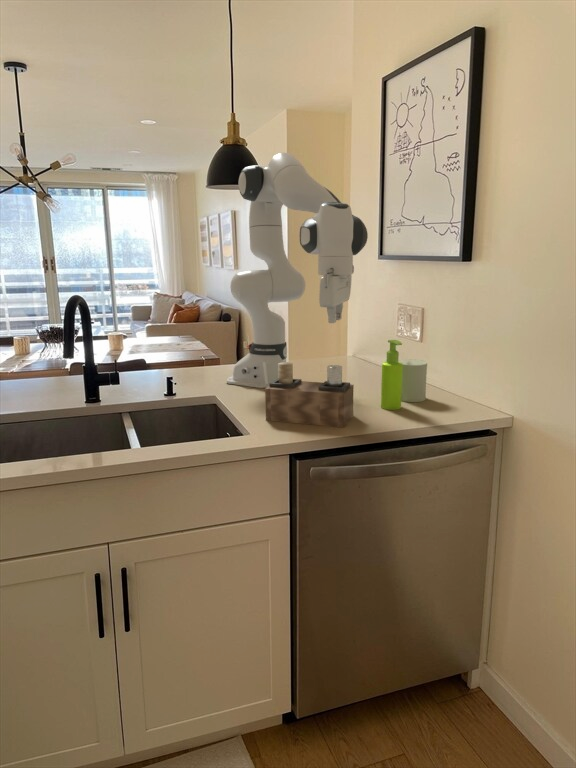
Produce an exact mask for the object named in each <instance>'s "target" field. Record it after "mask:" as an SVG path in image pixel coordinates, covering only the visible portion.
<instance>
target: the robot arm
mask: <svg viewBox="0 0 576 768" xmlns="http://www.w3.org/2000/svg"><path fill="white" fill-rule="evenodd" d="M238 189H239V190H238V191H239V193H240V195H241V197H242V198H243V200H245V201H249V202H250V204H249V215H248V216H249V217H248V227H249V228H248V229H249V231H248V232H249V247H250V252H251V253H252V254H253V255H254V256H255V257H256V258H257V259H260V260H262V261H264V263H266V265H267V268H268V269H249V270H243V271H239V272H236V273H235V274H233V277H232V278H231V281H230V292H231V295H232V297H233V298H234V299H235V300H236V301H237V302H238V303H240V305H242V306H243V307H244V308H245V309H246V311H247V312H248V314H249V317H250V319H251V325H252V334H253V336H252V337H253V341H252V342H251V343H249V344H248V345H247V346H246V347H247V348H246V349H247V350H248V353H247V354H245V356H244V357H242V358H241V359H239V360H238V361H237V362H236V363H235V364H234V367H233V372H232V375H230V376H229V377H227V379H226V383H227V384H230V385H238V386H245V387H251V388H258V389H259V388H260V389H263V388H267V387H268V386H269V383H271V382H272V381H274V380H276V379H277V378H278V363H283V362H287V357H288V347H287V342H286V322H285V320H284V318H283V316H281V315H279V314H278V313H276V312H274V311H271V310H270V308H269V303H281V302H291V301H295V300H299V299H301V298H302V296H303V295H304V293H305V291H306V281H305V277H304V275H303V274H302V273H301V272H300V271H299V270H298V269H296V268H295V267H294V266H293V265H292V264H291V262H290V260H289V259H288V256H287V254H286V252H285V247H284V239H283V238H284V237H283V220H282V207H283V205H284V206H285V207H286V208H288V209H290V210H293V211H300V212H307V213H314V214H315V215H313V216H312V217H311V218H307V219H306V220H305V221H304V222H303V223H302V225H301V226H300V228H299V243H300V246H301V247H302V249H303V251H304V252H306V253H308V254H312V255H318V257H317V258H318V259H317V260H318V262H317V264H318V270H317V272H318V273H317V274H318V275H319V276H321V277H320V279H319V280H320V281H319V294H318V295H319V296H318V297H319V299H318V301H319V307H321V308H326V313H327V318H328V319H327V321H328V324H336V322H337V321H341V320H342V316H343V315H342V313H343V308H344V303H345V302H348V301H350V297H351V290H352V277H353V276H352V275H353V274H354V271H355V266H354V262H353V261H354V260H353V259H354V256H356V255H358V254H359V253H360V252H361V251H362V250H363V249H364V248H365V246H366V244H367V241H368V238H369V237H368V236H369V235H368V234H369V233H368V229H367V226H366V225H365V223H364V222H363V220H362V219H361V218H360V217H358V216H355V215H353V212H352V208H351V206H350V205H349V204H347V203H344V202H341V201H340V199H339V198H338V197H337V196H336V195H335V194H334V193H333V192H332V191H331V190H329V189H328V188H326V187H325V186H324V185H322V184H320V183H319V182H317V181H316V180H315V178H313V177H312V176H311V175H310V174H309V173H308V171H307V170H306V168H305V167H304V166H303V164H302V163H301V162H300V161H299V160H298V159H297V158H296V157H295V156H294V155H292V154H291V153H288V152H279V153H277V154H275V155H274V156H273V157H272V158H271V159H270V160H269V162H268V165H258V164H257V165H256V164H255V165H249V166H245V167H244V168H242V170H241V171H240V173H239V177H238Z"/></svg>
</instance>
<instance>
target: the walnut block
mask: <svg viewBox="0 0 576 768" xmlns="http://www.w3.org/2000/svg"><path fill="white" fill-rule="evenodd" d="M264 388H265V389H264V391H265V392H264V394H265V399H264V401H265V402H264V403H265V421H269V422H270V421H272V422H283V423H292V424H293V423H294V424H303V425H313V426H322V427H323V426H325V427H334V426H335V427H336V428H345V427H346V425H347V424H348V423H349V421H351V419H352V418H353V417H354V384H351V382H346V381H345V382H344V381H342V387H327V380H325V381H324V382H319V381H304V380H302V379H301V378H300V379H299V378H293V383H292V384H284V383H279V380H278V378H277V379H276V380H274V381H272V382H271V383H269V386H268V387H264Z"/></svg>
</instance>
